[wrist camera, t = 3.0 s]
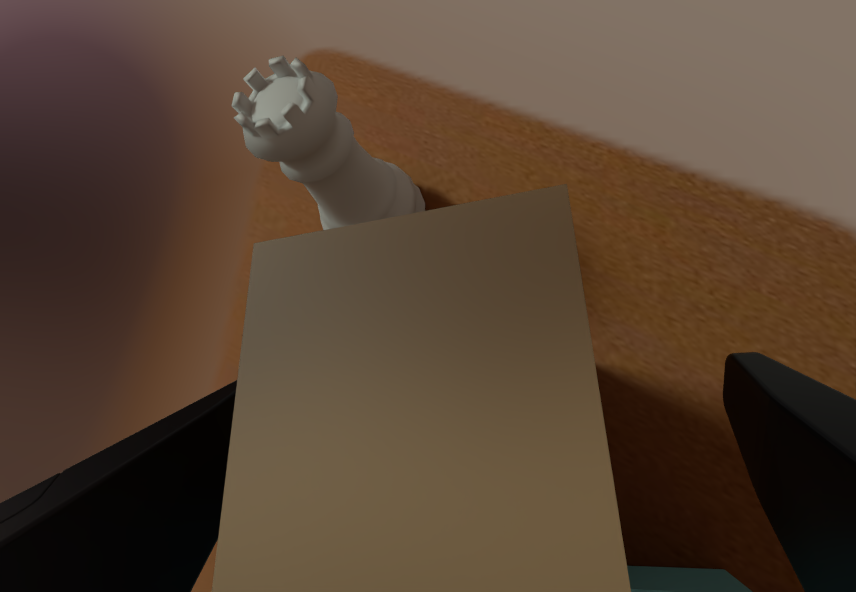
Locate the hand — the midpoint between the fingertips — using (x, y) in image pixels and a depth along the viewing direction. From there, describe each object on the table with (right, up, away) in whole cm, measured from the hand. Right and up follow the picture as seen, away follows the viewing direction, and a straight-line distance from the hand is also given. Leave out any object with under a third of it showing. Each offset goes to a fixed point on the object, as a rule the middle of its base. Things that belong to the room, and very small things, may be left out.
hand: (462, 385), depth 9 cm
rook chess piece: (-3, +5, +11) cm, 13 cm away
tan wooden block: (+2, -3, +7) cm, 8 cm away
